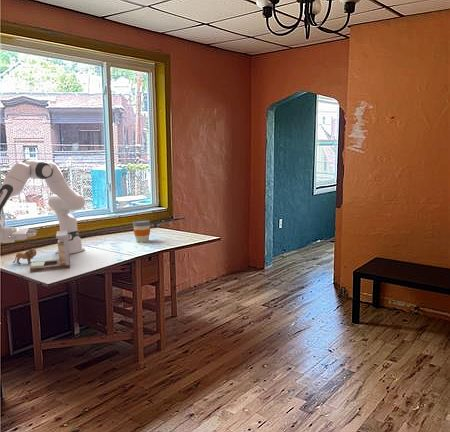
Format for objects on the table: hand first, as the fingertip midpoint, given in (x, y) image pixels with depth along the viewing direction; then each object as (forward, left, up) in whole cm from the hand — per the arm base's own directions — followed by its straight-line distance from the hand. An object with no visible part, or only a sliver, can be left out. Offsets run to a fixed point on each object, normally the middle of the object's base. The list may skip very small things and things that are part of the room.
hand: (36, 232), depth 259 cm
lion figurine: (-15, -9, -21) cm, 28 cm away
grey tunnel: (0, +14, -19) cm, 23 cm away
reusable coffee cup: (-49, +67, -21) cm, 86 cm away
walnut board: (0, +6, -21) cm, 22 cm away
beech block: (0, +14, -19) cm, 23 cm away
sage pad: (0, -1, -19) cm, 19 cm away
